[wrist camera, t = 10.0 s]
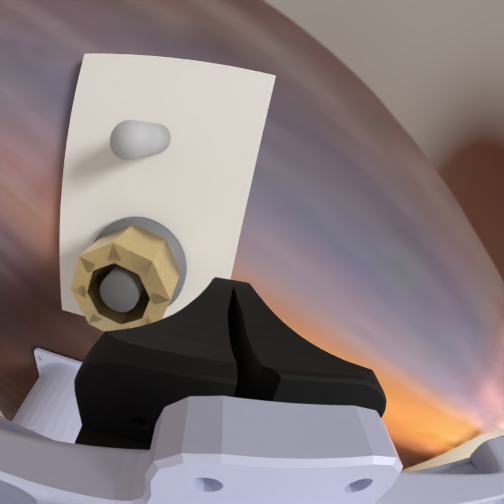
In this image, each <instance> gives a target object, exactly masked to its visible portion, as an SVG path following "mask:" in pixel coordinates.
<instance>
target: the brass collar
mask: <svg viewBox="0 0 504 504" xmlns="http://www.w3.org/2000/svg"><path fill="white" fill-rule="evenodd" d="M113 263H116V264H118V265H120V266H122V267H124V268H126V269H128V270H130V271H132V272H134V273H136V274H139V276H140V278H141V280H142V283H143V285H144V287H145V289H146V291H147V293H144V294H141V296H140V298H139V300H138V302H137V303H136V305H135V307H134V308H133V309H131V310H130V311H126V312H118V311H115V310H113V309H111V308H110V307H108V306H107V305H106V304H105V302H104V301H103V299H102V297H101V294H100V286H101V283H102V281H103V280H104V279H105V278H106V277H107V275H108V274H109V273H110V270H109V265H110V264H113ZM180 273H181V272H180V270H179V268H178V265H177V263H176V261H175V258H174V256H173V253H172V251H171V249H170V246H169V244H168V241H167V239H165V238H162V237H160V236H158V235H156V234H154V233H152V232H150V231H148V230H145V229H143V228H141V227H139V226H137V225H135V224H131V225H129V226H126V227H124V228H121V229H119V230H116V231H114V232H111V233H109V234H106V235H104V236H102V237H101V238H100V239H99V240H97V241H96V242H95V243H94V244H93V245H91V246H90V247H89V248H88V249H87V250H85V251H84V252H83V253H82V254H81V255H80V256H79V258H78V262H77V265H76V269H75V273H74V277H73V282H72V286H71V292H72V294H73V296H74V298H75V300H76V301H77V303H78V305H79V307H80V309H81V311H82V312H83V314H84V316H85V318H86V319H87V321H88V323H89V324H90V325H92V326H94V327H96V328H98V329H101V330H103V331H112V330H120V329H128V328H134V327H138V326H143V325H146V324H150V323H153V322H156V321H159V320H161V319H162V318H163V316H164V314H165V311H166V309H167V307H168V305H169V302H170V300H171V297H172V295H173V292H174V289H175V287H176V284H177V281H178V279H179V276H180Z"/></svg>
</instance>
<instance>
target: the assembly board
mask: <svg viewBox="0 0 504 504" xmlns="http://www.w3.org/2000/svg"><path fill="white" fill-rule="evenodd" d="M275 77H276V76H275V75H271V74H266V73H262V72H257V71H252V70H247V69H242V68H237V67H232V66H226V65H220V64H214V63H208V62H201V61H194V60H186V59H177V58H168V57H157V56H144V55H127V54H85V55H84V58H83V62H82V66H81V70H80V74H79V78H78V83H77V87H76V92H75V97H74V102H73V107H72V113H71V118H70V124H69V130H68V137H67V144H66V152H65V160H64V170H63V180H62V193H61V210H60V284H61V301H62V310H65V311H68V312H72V313H75V314H79V315H83V316H84V314H83V312H82V311H81V309H80V307H79V305H78V303H77V301H76V300H75V298H74V296H73V294H72V292H71V286H72V282H73V277H74V273H75V269H76V265H77V262H78V258H79V256H80V255H81V254H82V253H83V252H84V251H85V250H87V249H88V248H89V247H90V246H91V245H93V244H94V243H95V242H96V241H97V240H99V239H100V238H101V237H102V236H104V235H106V234H109V233H111V232H114V231H116V230H119V229H121V228H124V227H126V226H129V225H131V224H135V225H137V226H139V227H141V228H143V229H145V230H148V231H150V232H152V233H154V234H156V235H158V236H160V237H162V238H165V239H167V241H168V244H169V246H170V249H171V251H172V253H173V256H174V258H175V261H176V263H177V265H178V268H179V270H180V272H181V273H180V276H179V279H178V281H177V284H176V287H175V289H174V292H173V295H172V297H171V300H170V302H169V305H168V307H167V309H166V311H165V314H164V316H163V318H166V317H168V316H170V315H173V314H174V313H176V312H178V311H179V310H181V309H182V308H184V307H185V306H187V305H188V304H189V303H190V302H192V301H193V300H194V299H195V298H196V297H198V296H199V295H200V294H201V293H202V292H203V291H204V290H205V289H206V287H207V286H208V285H209V284H210V282H211V281H212V279H213V278H215V277H219V278H224V279H230V278H231V274H232V269H233V264H234V259H235V255H236V250H237V246H238V241H239V236H240V232H241V227H242V223H243V218H244V213H245V209H246V204H247V200H248V195H249V191H250V186H251V182H252V177H253V173H254V168H255V164H256V160H257V155H258V151H259V146H260V142H261V138H262V133H263V129H264V125H265V120H266V116H267V112H268V107H269V103H270V99H271V94H272V90H273V86H274V82H275ZM109 270H110V273H109V274H108V275H107V277H106V278H105V279H104V280H103V281H102V283H101V286H100V294H101V297H102V299H103V301H104V302H105V304H106V305H107V306H108V307H110V308H111V309H113V310H115V311H118V312H126V311H130V310H131V309H133V308H134V307H135V305H136V303H137V302H138V300H139V298H140V296H141V294H144V293H147V291H146V289H145V287H144V285H143V283H142V280H141V278H140V276H139V274H136V273H134V272H132V271H130V270H128V269H126V268H124V267H122V266H120V265H118V264H116V263H113V264H110V265H109ZM163 318H162V319H163Z"/></svg>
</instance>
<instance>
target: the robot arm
mask: <svg viewBox="0 0 504 504" xmlns="http://www.w3.org/2000/svg"><path fill="white" fill-rule="evenodd" d="M34 355H35V359H36V364H37V368H38V372H39V376H40V377H39V378H38V380H37V381H36V383H35V385H34V386H33V388H32V389H31V391H30V392H29V394H28V396H27V397H26V399H25V400H24V402H23V404H22V405H21V407H20V408H19V410H18V412H17V413H16V415H15V417H14V418H13V420H12V422H11V421H9V420H7V419H5V418H3V417H1V416H0V504H504V436H500V437H497V438H494V439H491V440H488V441H485V442H484V443H483V444H481V445H480V446H479V447H478V448H477V449H476V450H475V451H474V452H473V453H472V454H471V456H470V458H466V459H463V460H460V461H456V462H453V463H449V464H445V465H441V466H437V467H433V468H428V469H423V470H418V471H414V472H406V471H401V470H402V468H403V466H402V463H401V461H400V459H399V456H398V454H397V452H396V449H395V447H394V445H393V442H392V440H391V438H390V436H389V433H388V431H387V429H386V427H385V424H384V422H383V421H382V419H381V417H382V416H383V414H384V412H385V408H386V397H385V394H384V391H383V389H382V387H381V385H380V384H379V382H378V380H377V378H376V376H375V374H374V372H373V370H371V369H368V368H365V367H362V366H359V365H356V364H353V363H350V362H348V361H345V360H343V359H340V358H338V357H336V356H334V355H332V354H330V353H328V352H326V351H324V350H322V349H320V348H318V347H317V346H315V345H313V344H312V343H310V342H308V341H307V340H305V339H304V338H302V337H301V336H300V335H298V334H297V333H296V332H294V331H293V330H292V329H291V328H289V327H288V326H287V325H286V324H285V323H283V322H282V321H281V320H280V319H279V318H278V317H277V316H276V315H275V314H274V313H273V312H272V311H271V309H270V308H269V307H268V306H267V305H266V304H265V303H264V301H263V300H262V299H261V298H260V296H259V295H258V294H257V293H256V291H255V290H254V289H253V287H252V286H251V285H250V284H249V283H246V282H241V281H235V280H230V279H224V278H219V277H215V278H213V279H212V281H211V282H210V284H209V285H208V286H207V287H206V289H205V290H204V291H203V292H202V293H201V294H200V295H199V296H198V297H196V298H195V299H194V300H193V301H192V302H190V303H189V304H188V305H187V306H185V307H184V308H182V309H181V310H179V311H178V312H176V313H174V314H173V315H170V316H168V317H166V318H163V319H161V320H159V321H156V322H153V323H150V324H146V325H143V326H138V327H134V328H128V329H120V330H112V331H105V332H104V334H103V335H102V336H101V337H100V339H99V340H98V341H97V342H96V343H95V344H94V346H93V347H92V348H91V349H90V351H89V352H88V354H87V356H86V357H85V359H84V361H83V362H80V361H77V360H74V359H71V358H67V357H64V356H61V355H58V354H55V353H52V352H49V351H46V350H43V349H41V348H36V349H35V350H34Z"/></svg>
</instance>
